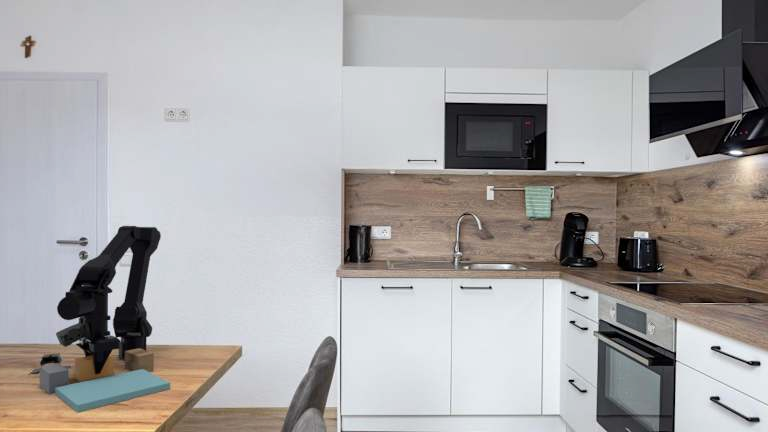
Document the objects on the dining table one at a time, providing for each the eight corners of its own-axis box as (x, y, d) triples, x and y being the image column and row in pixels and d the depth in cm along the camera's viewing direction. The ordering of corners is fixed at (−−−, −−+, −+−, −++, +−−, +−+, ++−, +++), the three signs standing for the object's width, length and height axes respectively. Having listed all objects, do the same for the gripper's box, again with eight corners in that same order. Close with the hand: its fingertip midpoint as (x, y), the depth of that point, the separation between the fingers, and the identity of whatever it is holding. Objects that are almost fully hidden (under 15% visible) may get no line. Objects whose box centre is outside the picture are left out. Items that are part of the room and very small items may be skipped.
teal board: (142, 374, 131) (142, 368, 131) (170, 388, 121) (170, 382, 121) (55, 394, 116) (55, 387, 116) (77, 412, 106) (77, 405, 106)
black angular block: (19, 378, 129) (19, 361, 129) (27, 370, 136) (27, 353, 136) (74, 373, 134) (75, 356, 134) (79, 365, 141) (80, 349, 141)
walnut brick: (124, 369, 136) (124, 351, 136) (139, 365, 139) (139, 348, 139) (138, 375, 131) (138, 356, 131) (153, 371, 134) (153, 353, 134)
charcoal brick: (39, 386, 122) (39, 366, 122) (58, 383, 125) (58, 363, 125) (48, 394, 116) (49, 373, 116) (68, 390, 119) (68, 369, 119)
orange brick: (108, 370, 134) (108, 352, 134) (113, 374, 131) (114, 355, 131) (75, 377, 128) (75, 358, 128) (79, 381, 126) (79, 361, 126)
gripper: (49, 311, 130) (48, 371, 130) (71, 322, 118) (71, 388, 118) (95, 306, 138) (95, 362, 138) (121, 315, 126) (120, 377, 126)
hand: (94, 371), depth 130 cm, fingers closed on orange brick, 4 cm apart
